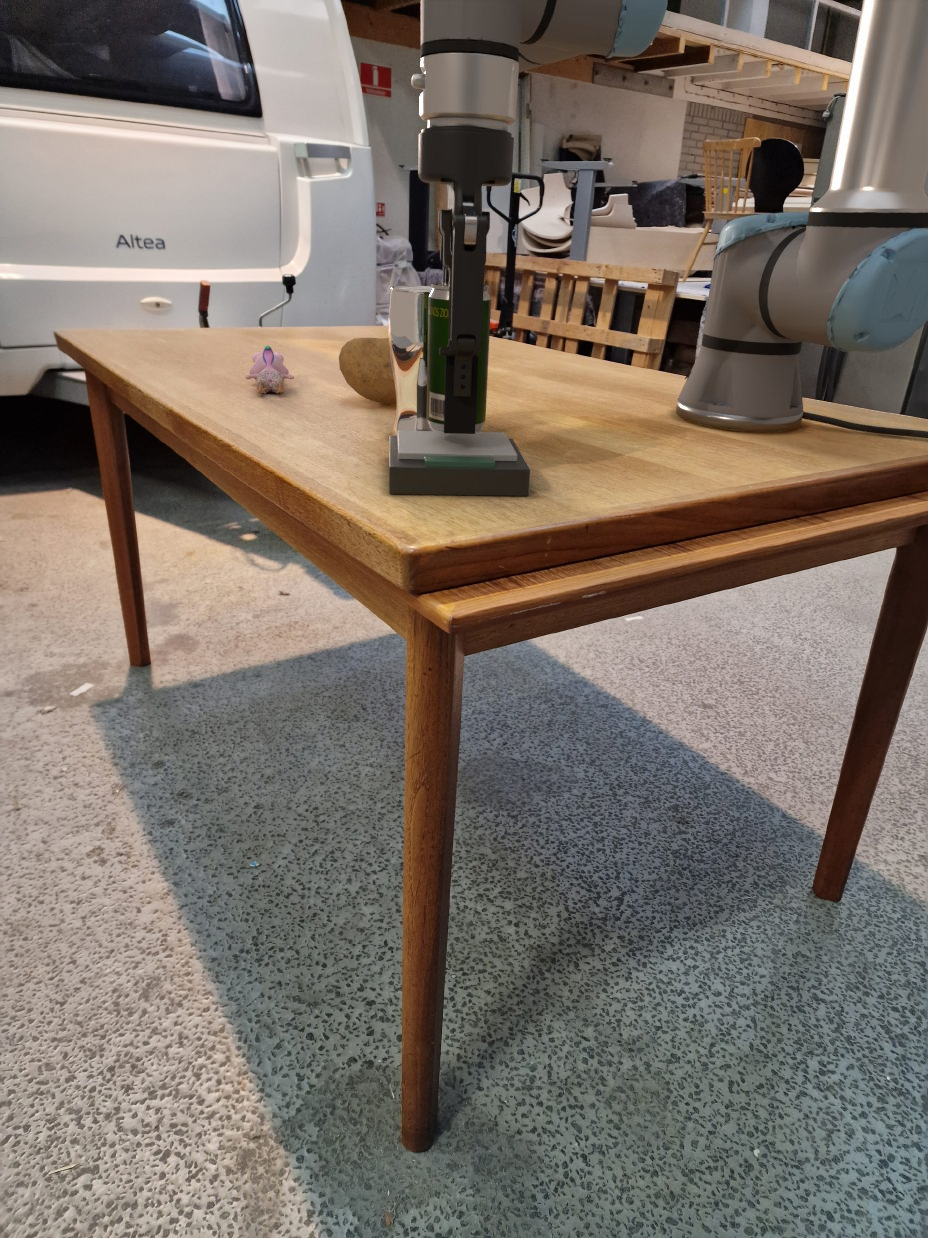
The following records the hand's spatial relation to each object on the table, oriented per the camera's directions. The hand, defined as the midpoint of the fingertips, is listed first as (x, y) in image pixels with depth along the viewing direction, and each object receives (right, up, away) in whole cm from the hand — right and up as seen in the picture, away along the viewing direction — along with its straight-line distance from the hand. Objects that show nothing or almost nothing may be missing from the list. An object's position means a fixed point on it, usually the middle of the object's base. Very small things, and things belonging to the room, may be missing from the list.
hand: (456, 424), depth 74 cm
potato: (-8, +10, +30) cm, 32 cm away
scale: (0, -5, +1) cm, 5 cm away
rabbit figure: (-26, +14, +37) cm, 47 cm away
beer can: (0, 0, 0) cm, 1 cm away
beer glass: (-4, +2, +14) cm, 15 cm away
